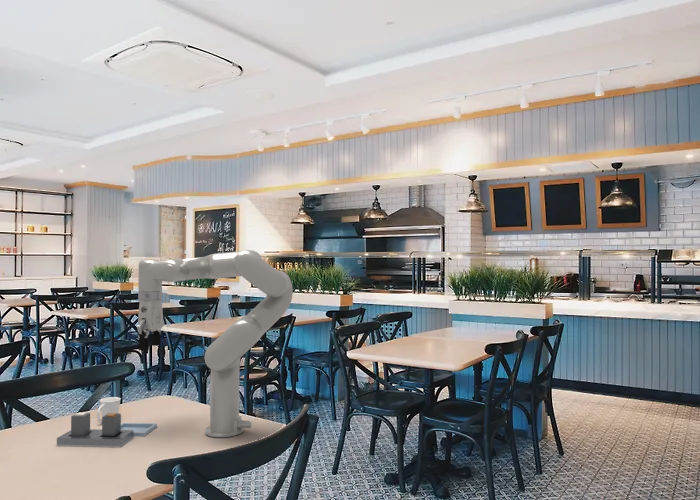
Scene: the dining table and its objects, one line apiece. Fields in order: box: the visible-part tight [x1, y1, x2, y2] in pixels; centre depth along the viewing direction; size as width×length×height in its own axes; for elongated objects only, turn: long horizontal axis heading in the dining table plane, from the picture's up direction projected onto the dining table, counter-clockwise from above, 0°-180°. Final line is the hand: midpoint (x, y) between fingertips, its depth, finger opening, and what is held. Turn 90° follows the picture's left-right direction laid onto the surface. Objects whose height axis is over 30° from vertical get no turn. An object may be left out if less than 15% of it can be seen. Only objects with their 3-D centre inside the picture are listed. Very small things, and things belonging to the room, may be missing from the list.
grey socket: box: [56, 412, 134, 448], centre depth 173 cm, size 20×9×9 cm, turn 87°
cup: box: [96, 396, 122, 424], centre depth 195 cm, size 7×10×8 cm
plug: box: [70, 412, 91, 437], centre depth 174 cm, size 4×4×8 cm
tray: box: [121, 422, 158, 437], centre depth 184 cm, size 12×10×2 cm
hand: (149, 347), depth 185 cm, fingers open, 9 cm apart
